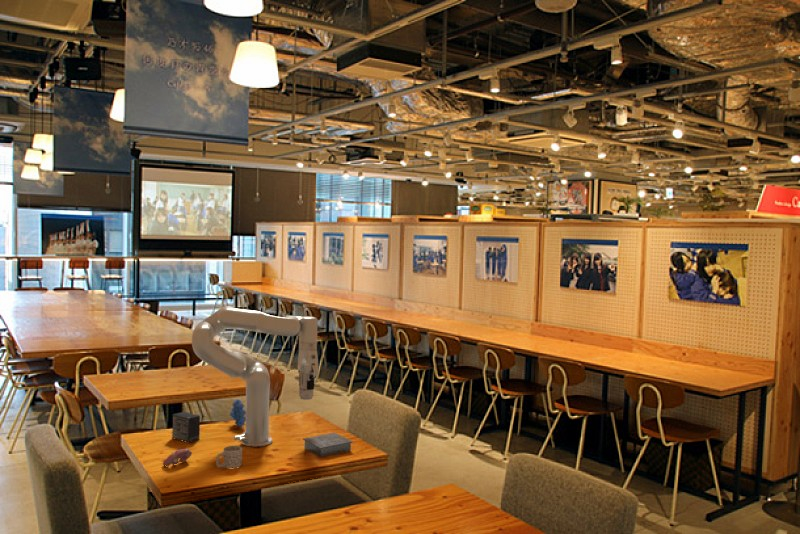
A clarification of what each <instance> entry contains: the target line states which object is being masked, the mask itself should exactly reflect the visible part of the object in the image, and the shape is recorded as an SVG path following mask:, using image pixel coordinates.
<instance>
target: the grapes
mask: <svg viewBox="0 0 800 534" xmlns="http://www.w3.org/2000/svg"><path fill="white" fill-rule="evenodd" d="M232 406H233V407H232V409H231V411H230V412H229V416H230V417H231V418H232V419H233V420H234V421H235V422H234V424H235V425H236V427H240V428H243V427H244V425H245V423H246V409H244V407H245V404H244V403H242V401H241V400H240V399H236V400H234V401H233V402H232Z"/></svg>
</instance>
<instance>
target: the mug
mask: <svg viewBox="0 0 800 534" xmlns="http://www.w3.org/2000/svg"><path fill="white" fill-rule="evenodd" d="M215 457H216V458H215V463H216V467H217V468H224V467H225V468H224V469H226V468H237V467H240V466H241V465H242V463H243V447H242V446H239V445H228V446H226V447H224V448H223V452H220V453H219V454H217V455H216V456H215ZM221 457H223V462H221V463H220V458H221ZM241 467H242V466H241ZM241 467H240V468H241ZM237 469H238V468H237Z"/></svg>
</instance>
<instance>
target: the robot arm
mask: <svg viewBox="0 0 800 534" xmlns="http://www.w3.org/2000/svg"><path fill="white" fill-rule="evenodd" d="M318 322H319V321H318V318H317V317H315V316H298V315H297V316H296V315H286V316H285V317H282V316H275V315H270V314H268V313H265V312H262V311H258V310H251V309H244V308H243V309H242V308H235V307H233V306H231V305H225V306H223V307H221V308H219V309H218V310H217V311H215V312H213V313H212V314H210V315H209V316H208V317H206V318H205V319H203V320H202V321H200V322H198V324H196V326H195V327H194V329H193V331H192V334H191V346H192V350H193V353H194V354H195V355H196V356H197V357H198V358H199V359H200V361H203V362H204V363H207V365H210V366H211V367H213V368H215V369H217V370H218V371H220V372H222V373H224V374H225V375H228V376H229V377H231V378H240V379H241V380H244V381H245V411H246V414H245V418H246V421H245V431H243V432H242V433H241V434H240V435H234V436H233V440H234V442H236V441H239V442H241V444H242V445H244V446H245V445H246V447H251V446H252V448H253V447H254V448H255V447H258V446H259V447H264V446H269V445H271V444H272V443H273V438H272V437H271V436H270V435H269V433H270V430H269V429H270V425H269V424H270V388H271V387H270V386H271V378H270V373H269V370H268V368H267V367H266V365H264V364H263V363H261V362H260V361H257V360H256V359H254V358H252V357H250V356H248V355H247V354H245V353H243V352H240V351H229V350H228V349H226V348H224V347H223V346H220V345H218V344H216V343H215V341H214V338H215V337H216V336H217V335H219V334H221V333H222V332H224V331H225V330H226V329H229V330H240V331H249V332H256V333H261V334H262V333H263V334H269V335H275V336H284V337H295V336H297V335H298V334H299V336H298V355H297V356H298V357H297V366H296V368H297V371H298V377H299V378H298V385H299V384H300V366H301V365H303V366H304V368H305V373H307V376H308V380H307V390H312V389H315V381H316V377H317V375H318V371H319V361H318V360H319V358H318V357H319V356H318V350H317V349H318V347H317V346H318ZM310 371H312V373H310ZM310 374H312V375H311V376H310Z"/></svg>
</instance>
